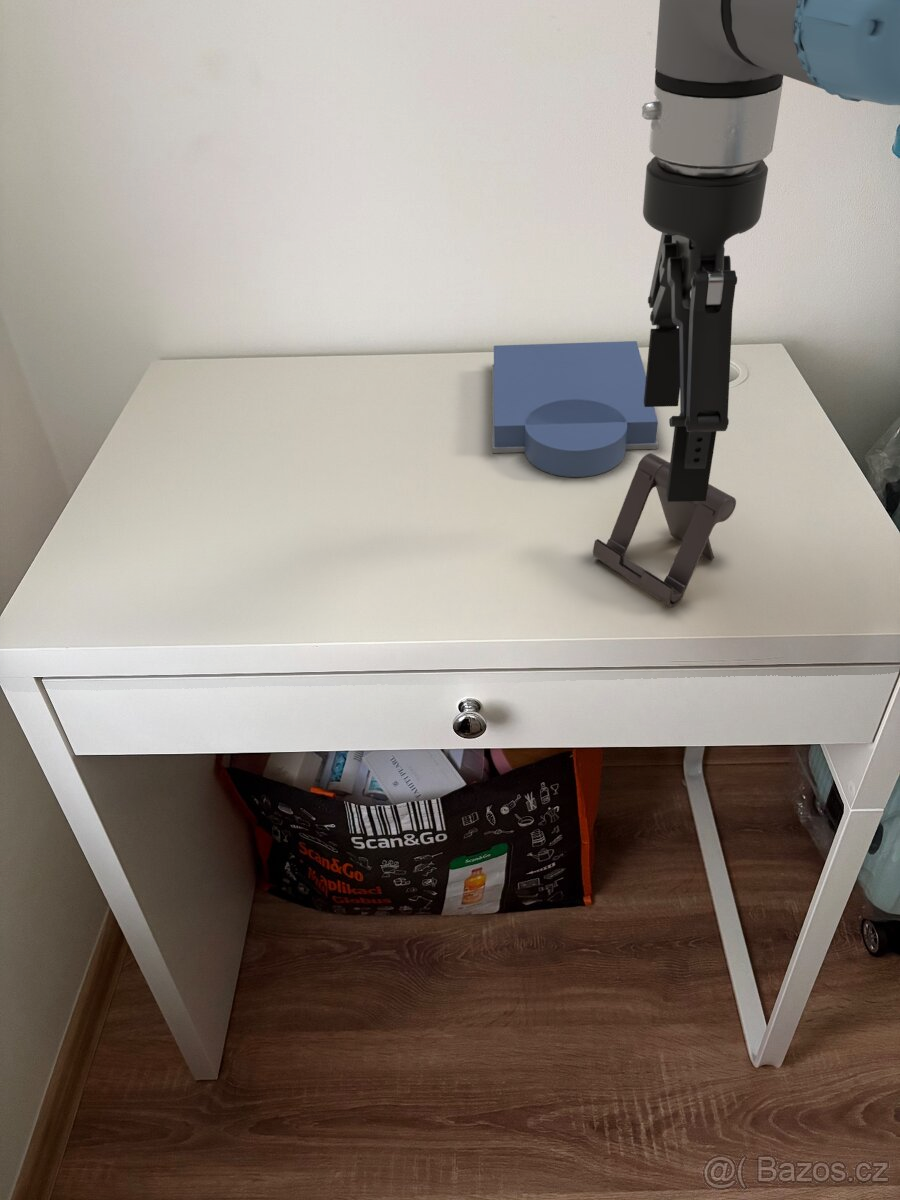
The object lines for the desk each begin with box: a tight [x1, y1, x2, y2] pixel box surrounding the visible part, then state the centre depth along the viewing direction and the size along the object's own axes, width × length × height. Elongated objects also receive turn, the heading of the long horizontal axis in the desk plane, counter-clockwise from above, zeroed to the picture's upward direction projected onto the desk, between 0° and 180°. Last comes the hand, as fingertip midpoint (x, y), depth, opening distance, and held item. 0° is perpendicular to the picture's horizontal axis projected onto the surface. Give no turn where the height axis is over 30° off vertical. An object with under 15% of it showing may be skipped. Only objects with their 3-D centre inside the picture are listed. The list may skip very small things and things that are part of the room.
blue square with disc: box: [491, 340, 659, 478], centre depth 101 cm, size 23×16×3 cm
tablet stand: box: [592, 452, 737, 608], centre depth 79 cm, size 9×8×8 cm
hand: (672, 448), depth 75 cm, fingers open, 13 cm apart
